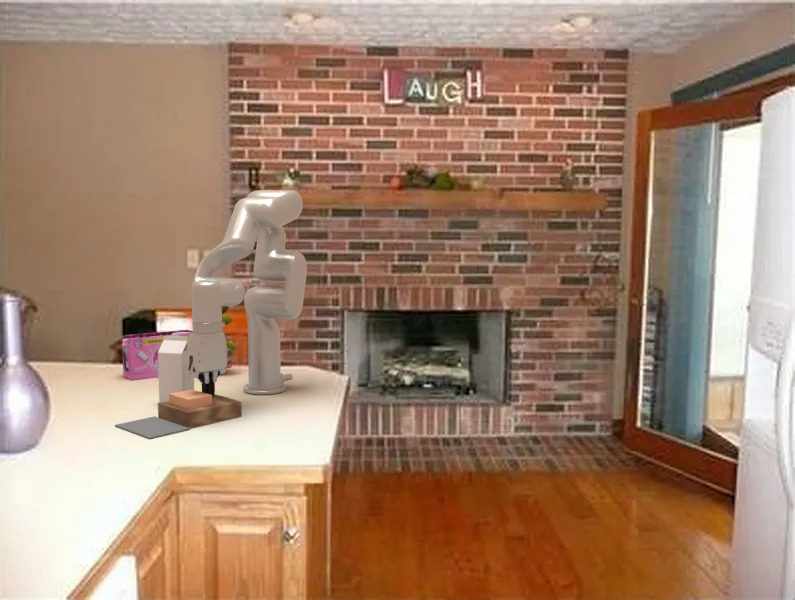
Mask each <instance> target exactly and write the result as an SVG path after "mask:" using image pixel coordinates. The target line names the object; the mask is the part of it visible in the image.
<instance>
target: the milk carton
mask: <svg viewBox="0 0 795 600" xmlns="http://www.w3.org/2000/svg"><path fill="white" fill-rule="evenodd" d="M187 346H188V337H178V336H164V341H163V343H162V345H161V347H160V349H159V351H158V371H159V377H158V400H159V402H158V403H161V402H166V401H169V394H171V393H177V392H182V391H187V390H195V378H192V377H190V376H189V374H190V371H189V370H187V364H186V362H187Z"/></svg>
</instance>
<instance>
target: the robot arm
mask: <svg viewBox="0 0 795 600" xmlns="http://www.w3.org/2000/svg"><path fill="white" fill-rule="evenodd" d="M303 207H304V201H303V198H302V195H300V193H299V192H298V191H296V190H292V189H285V190H284V189H260V190H259V189H258V190H253V191H251V192H250V193H248V194H247V196H246V197H244V198H241V199H239V200H238V201H237V202H236V203H235V206H234V209H233V211H232V214H231V217H230V220H229V223H228V226H227V229H226V231H225V234H224V237H223V240H222V242H221V243H219V244H218V245H217V246H215V247H214V248H213V249H211V251H209V252H208V253H207V254H206V256H204V257H203V258H202V260H201V261H200V263H199V264H198V266H197V269H196V272H195V274H194V277H193V280H192V283H191V288H190V289H191V291H190V292H191V301H192V302H191V311H192V313H191V315H192V316H191V319H192V321H191V323H192V331H193V334H190V336H189V340H188V346H187V362H186V364H187V370H189V371H190V374H189V376H190V377H192V378H194V379H197V380H198V381H199V382H200V383H201V392H203V393H207V394H210V395H212V398H214V397H215V393H216V382H217V381H218V378H219V376H220V375H222V374H225V373H226V372H227V368H226V366H227V346H226V340H225V335H224V334H225V333H224V331H223V328H225V327H226V325H225V322H222V315H223V314H222V306H229V307H236V306H238V305H240V304H241V303H242V302H244V310H245V315H246V321H247V349H248V350H247V354H248V355H247V356H248V359H247V360H248V367H247V368H248V384H245V385H244V386H243V388H242V389H243V392H244V393H247V394H250V395H273V394H279V393H283V392H285V391H286V390H287V389H286V388H287V387H286V384H285V382H287V381H292V380H293V378H294V376H293V374H292V373H287V374H284V373H281V371H282V369H281V366H282V365H281V330H280V328H279V324H278V323H277V322H276V320H275V319H279V320H281V319H282V320H294V319H297V318H299V316H300V315H301V314H302V311H303V306H304V299H305V290H306V283H307V274H308V269H307V268H308V267H307V265H308V264H307V260H306V258H305V256H304V254H303V253H301V252H299V251H295V250H286V241H287V235H286V232H285V229H284V227H283V226H285V225H287V224H289V223H291V222H293V221H295V220H296V219H298V218H299V216H301V213H302V211H303ZM255 244H256V249H255V257H254V266H253V274H254V276H255V278H256V279H257V280H259V281H261V282H267V283H285V286H276V285H255V286H252V287H250V288H249V289H248V290H247V291H246V288H245V285H244V284H243V282H242V281H240V280H238V279H235V278H231V277H230V278H229V277H227V278H226V277H215V276H216V275H217V274H218V272H220V271H221V270H222V269H223V268H224V267H227V266H228V265H230V264H232V263H235V262H238V261H240V260H242V259H244V258H246V257H249V256H250V255H251V254H252V253H253V251H254V248H255Z"/></svg>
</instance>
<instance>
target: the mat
mask: <svg viewBox="0 0 795 600" xmlns="http://www.w3.org/2000/svg"><path fill="white" fill-rule="evenodd" d="M114 427H115V428H119V429H120V430H123V431H125V432H126V431H127V432H129V433H132V434H135V435H137V436H140V437H143V438H145V439H148V440H152V439H157V438H161V437H164V436H168V435H169V436H170V435H174V434H178V433H181V432H187V431H190V430H191V428H188V427H185V426H182V425H179V424H176V423H173V422H170V421H167V420H164V419H161V418H158V417H157V416H150V417H145V418H140V419H136V420H132V421H127V422H122V423H117V424H114Z"/></svg>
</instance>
